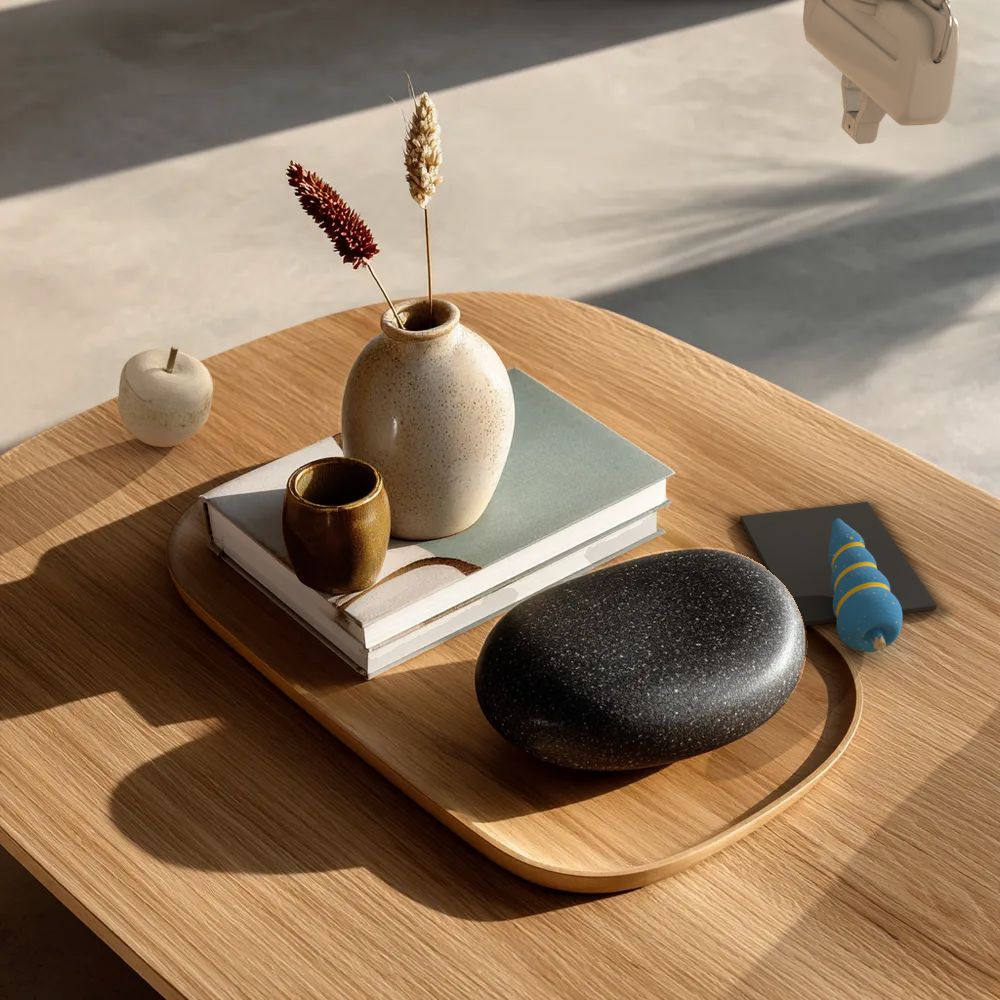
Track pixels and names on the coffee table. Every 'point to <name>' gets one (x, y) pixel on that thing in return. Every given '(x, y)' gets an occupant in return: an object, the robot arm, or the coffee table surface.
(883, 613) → the ornament
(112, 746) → the coffee table surface
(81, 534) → the coffee table surface
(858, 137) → the robot arm
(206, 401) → the decorative object
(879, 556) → the mat
